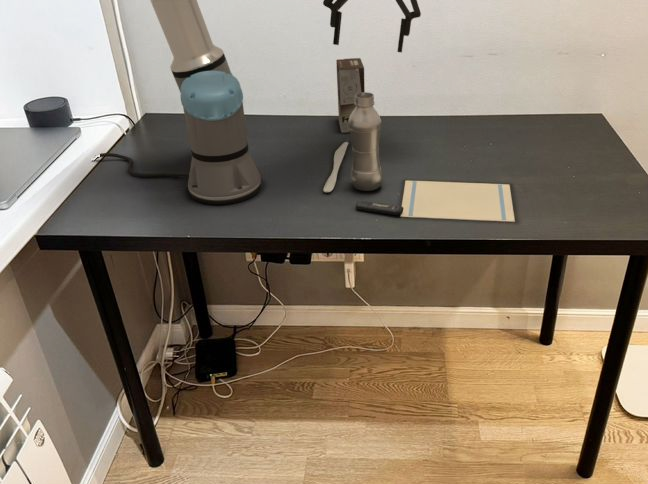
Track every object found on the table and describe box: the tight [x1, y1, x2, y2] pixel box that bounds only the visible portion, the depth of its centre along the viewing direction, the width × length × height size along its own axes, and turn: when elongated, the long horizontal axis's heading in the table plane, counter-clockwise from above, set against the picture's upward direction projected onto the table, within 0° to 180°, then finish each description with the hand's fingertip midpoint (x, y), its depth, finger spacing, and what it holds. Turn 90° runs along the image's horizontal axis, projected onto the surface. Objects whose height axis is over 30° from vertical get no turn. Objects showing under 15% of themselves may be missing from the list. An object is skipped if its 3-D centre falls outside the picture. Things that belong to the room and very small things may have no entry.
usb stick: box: [355, 199, 403, 216], centre depth 128 cm, size 10×3×2 cm, turn 69°
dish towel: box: [399, 180, 516, 223], centre depth 132 cm, size 22×16×1 cm
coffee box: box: [335, 57, 366, 134], centre depth 163 cm, size 9×6×16 cm
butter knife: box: [322, 141, 349, 194], centre depth 146 cm, size 1×27×3 cm
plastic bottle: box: [348, 92, 384, 192], centre depth 132 cm, size 6×7×20 cm
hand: (367, 48), depth 136 cm, fingers open, 13 cm apart
